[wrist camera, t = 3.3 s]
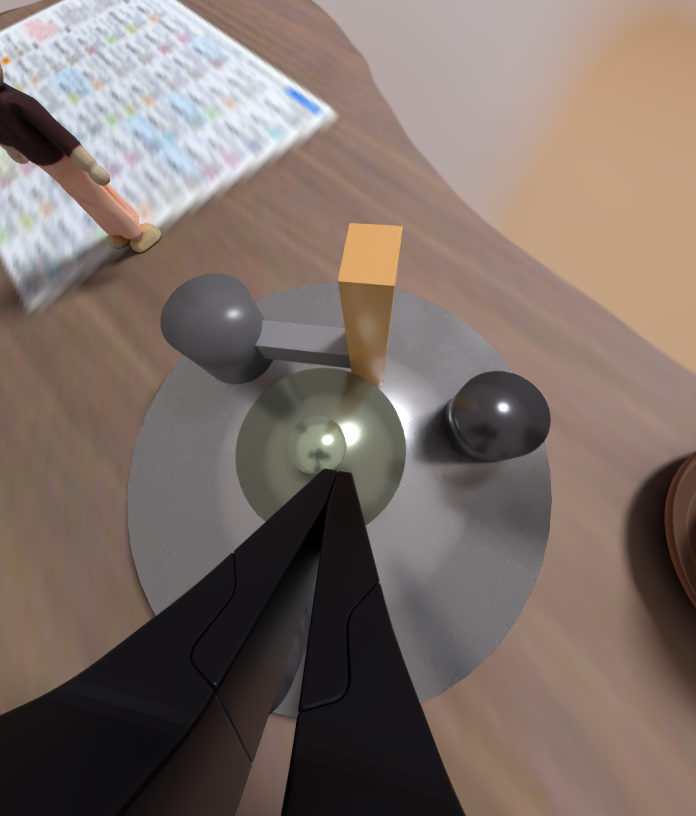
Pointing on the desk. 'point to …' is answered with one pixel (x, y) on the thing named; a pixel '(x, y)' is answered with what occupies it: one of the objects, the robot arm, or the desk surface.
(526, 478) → the levelling plate
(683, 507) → the cup and saucer
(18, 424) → the desk surface
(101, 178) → the grandmother figurine
